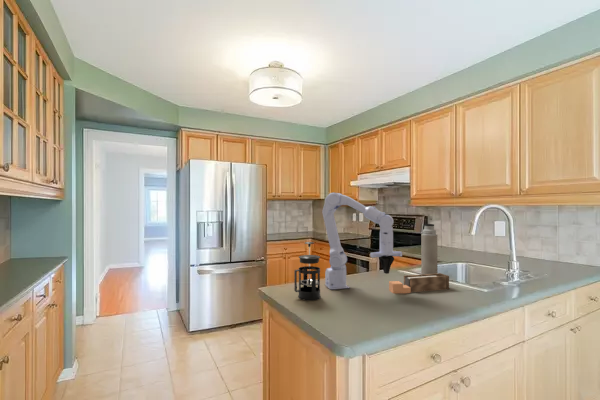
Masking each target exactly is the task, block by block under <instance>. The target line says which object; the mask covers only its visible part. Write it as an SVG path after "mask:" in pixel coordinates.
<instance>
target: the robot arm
mask: <svg viewBox="0 0 600 400" xmlns="http://www.w3.org/2000/svg"><path fill="white" fill-rule="evenodd" d="M341 206H349V207H351V208H353V209H354V210H356V211H358V212H360V213H362V214H363V216H364V218H366V219H367V220H369V221H371V222H372V223H374V224H378V225H379V251H374V252H370V256H369V257H370V258H372V259H373V258H374V259H375V258H378V260H379V262H380V263H381V266H382V270H383V274H386V275H388V274H390V270H391V267H392V265H393V263H394V261H395V257H403V251H400V250H399V251H397V250H395V251H394V228H393V225H394V222H395V221H394V218H393V217H392V216H391V214H386V212H385V211H383V212H382V211H381V210H379V209H377V207H376V206H371V205H369V206H366V205H364V204H363V203H360V202H359V201H358V200H355V199H354V198H352V197H350V196H348V195H345V194H343V193H340V192H330V193H328V194H327V195H326V197H325V198H324V205H323V208H322V209H321V210H322V211H321V212H322V217H323V222H324V227H325V231H326V236H327V239H328V244H329V265H330V267H327V268H325V273H324V274H325V276H324V277H325V278H324V279H325V281H324V283H325V284H324V286H326V288H328V289H329V290H340V289H350V286H349V285H347V266H346V264H347V262H348V256H347V254H346V253H345V250H344V248H343V247H342V245H341V240H340V236H339V231H338V226H337V223H336V219H335V212H337V210H338V208H340V207H341Z"/></svg>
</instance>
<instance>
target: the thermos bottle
mask: <svg viewBox="0 0 600 400" xmlns="http://www.w3.org/2000/svg"><path fill="white" fill-rule="evenodd" d="M420 236H421V245H420V247H421V253H420V255H421V256H420V258H421V265H420V267H421V271H420V272H421V274H436V273H438V274H439V272H438V268H439V267H438V234H437V230H436V229H435V224H433V223H424V228H423V229H422V233H421V235H420Z"/></svg>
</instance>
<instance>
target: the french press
mask: <svg viewBox="0 0 600 400" xmlns="http://www.w3.org/2000/svg"><path fill="white" fill-rule="evenodd" d="M304 244H307V245H308V254H303V255H302V254H301V255H299V256H298V258H299V263H300V264H305V265H306V264H307V265H308V266H307V265H306V266H304V265H303V266H300V267H298V269H294V270H293V271H294V279H293V280H294V282H293V283H294V284H293V285H294V287H293V289H294V292H295V293H298V295H297V297H298V300H299V299H300V300H301V301H309V302H312V301H318V300H320V299H321V285H320V284H321V283H320V282H321V274H320V273H321V268H320V267H318V266H311V264H312V265H313V264H318V263H319V262H320V259H321V256H319V255H316V254H311V253H310V252H311V245H313V244H315V242H314V241H306V242H304ZM297 272H298V276H297ZM302 274H303V276H302ZM316 274H317V275H316ZM297 277H298V278H297ZM302 277H303V279H301V278H302ZM297 279H298V280H297ZM297 282H298V283H297ZM297 285H298V287H297ZM297 288H298V289H297Z"/></svg>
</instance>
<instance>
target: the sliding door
mask: <svg viewBox="0 0 600 400" xmlns="http://www.w3.org/2000/svg"><path fill="white" fill-rule="evenodd" d="M422 277H433V276H422ZM410 278H418V277H407V278H405V285H407V286H409V287H410Z"/></svg>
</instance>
